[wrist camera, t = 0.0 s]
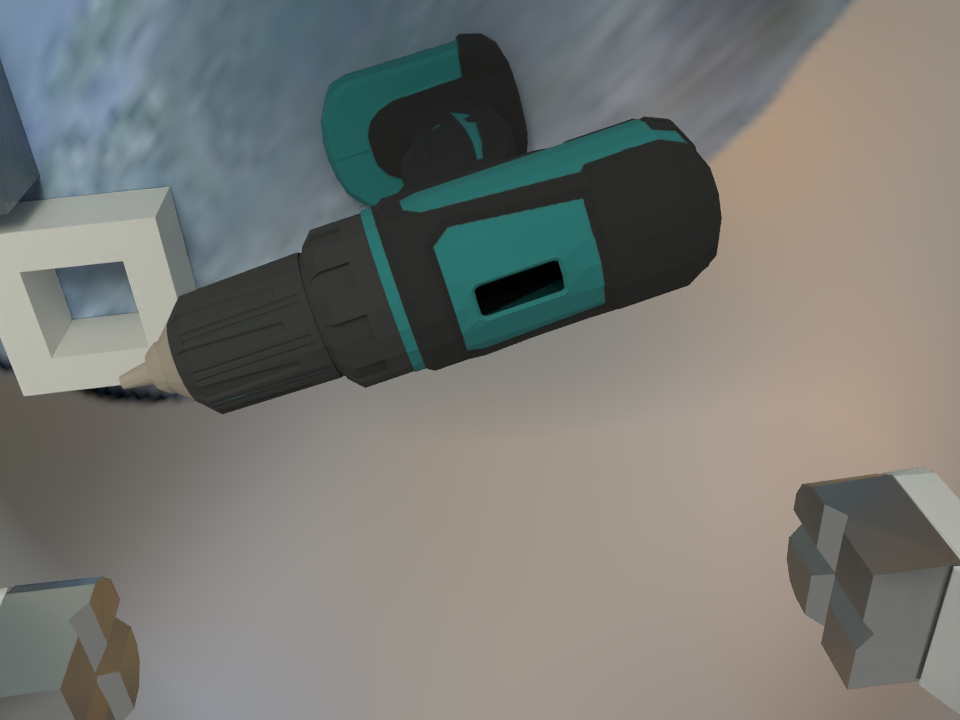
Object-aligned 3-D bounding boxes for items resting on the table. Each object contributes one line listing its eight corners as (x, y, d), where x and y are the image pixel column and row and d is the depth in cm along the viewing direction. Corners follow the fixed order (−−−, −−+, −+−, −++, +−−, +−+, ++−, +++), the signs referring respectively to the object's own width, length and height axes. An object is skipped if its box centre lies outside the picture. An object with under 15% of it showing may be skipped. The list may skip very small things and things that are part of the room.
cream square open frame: (-11, 205, 56) (-40, 238, 52) (169, 186, 57) (155, 217, 52) (46, 355, 62) (23, 396, 57) (208, 337, 62) (198, 375, 58)
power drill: (227, 252, 59) (157, 501, 38) (166, 123, 55) (49, 325, 33) (610, 138, 58) (755, 328, 37) (583, -4, 54) (732, 122, 32)
